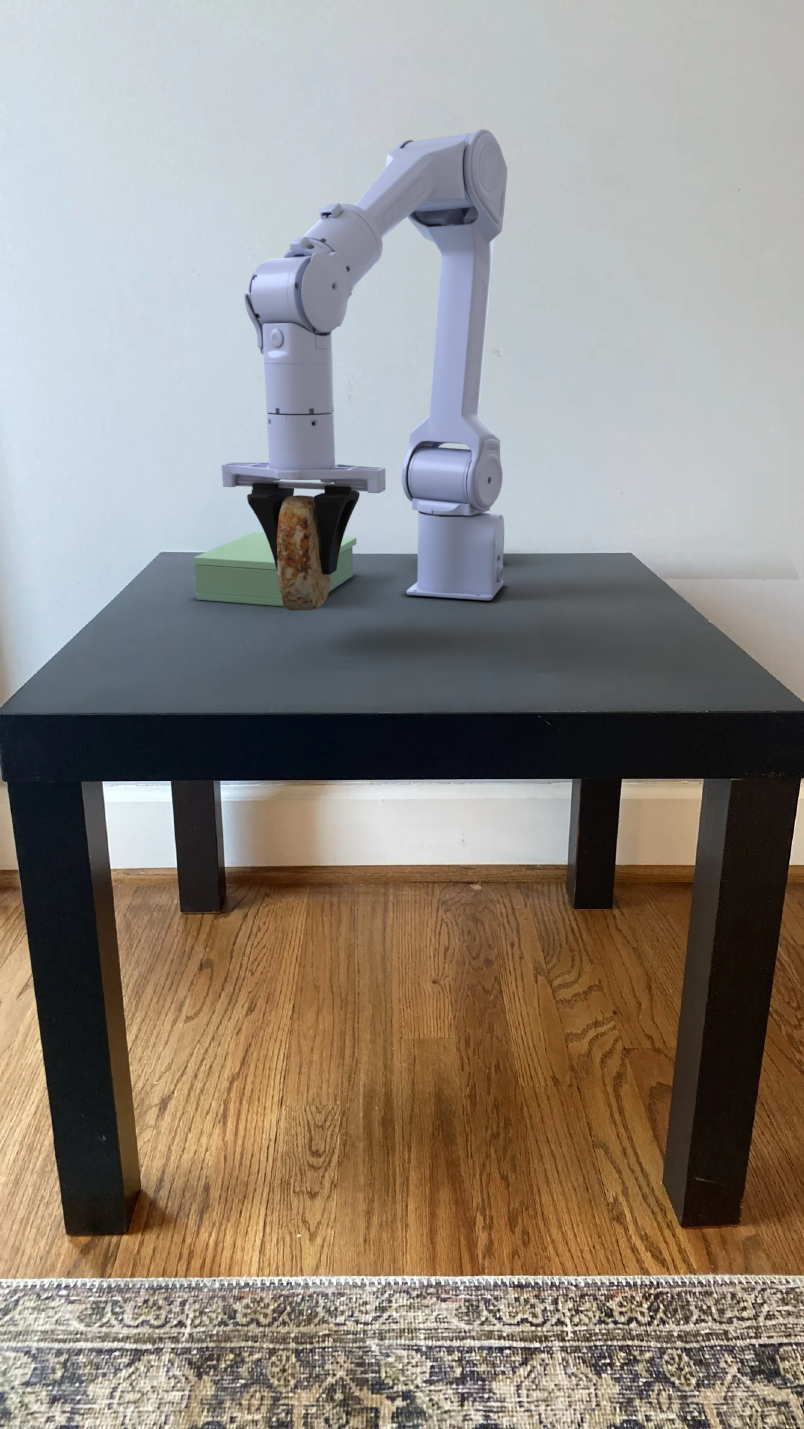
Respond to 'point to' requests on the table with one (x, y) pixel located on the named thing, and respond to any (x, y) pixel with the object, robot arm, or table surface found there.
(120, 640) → the table surface
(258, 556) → the lunchbox lid
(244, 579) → the box
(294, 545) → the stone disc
